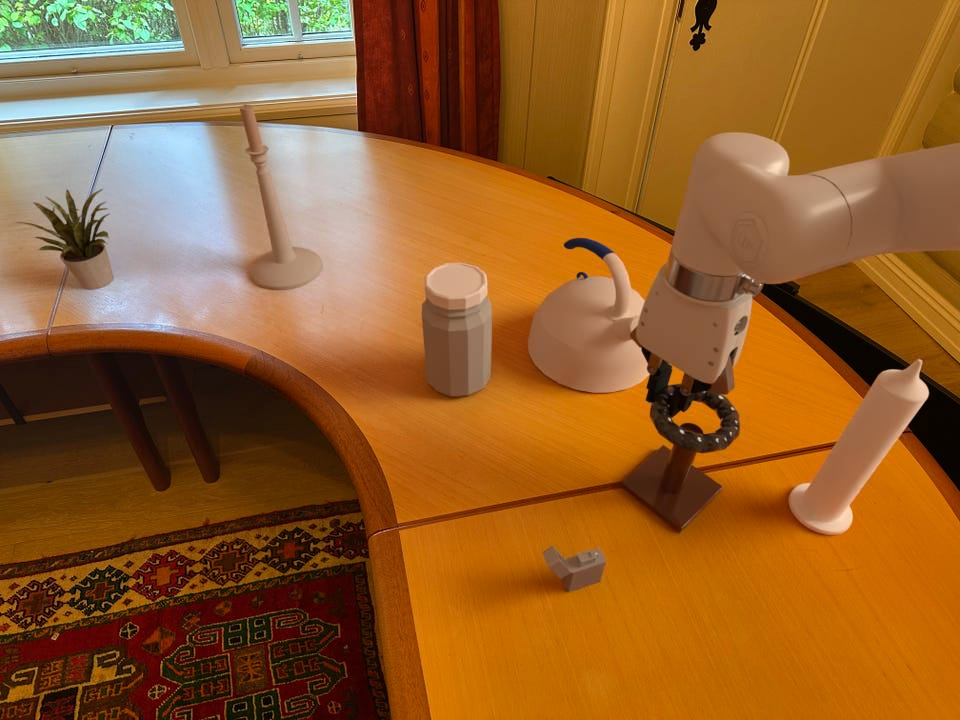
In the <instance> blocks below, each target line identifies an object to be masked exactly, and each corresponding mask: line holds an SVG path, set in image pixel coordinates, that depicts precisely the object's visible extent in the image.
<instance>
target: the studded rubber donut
mask: <svg viewBox="0 0 960 720" xmlns="http://www.w3.org/2000/svg"><path fill="white" fill-rule="evenodd" d="M681 383H682V382H680V383H674V384H668V386H666V387H665V388H663V389H662V390H661V391H660V392H658V393H657V394H656V395H655V396H654V397H653V398H652V402H650V408H649V419H650V420H651V422H652V424H653V426H654V427H655V430H656V431H657V434H658V435H659V436H661V437H662V438H663V439H665V440H666V441H668V442H669V443H670V444H672V445H673V444H674V445H675V446H677V447H678V448H681V449H685V450H689V451H693V452H697V454H708V453H714V452H720V451H724V450H726V449H727V448H729V447H730V446H731V445H732V444H733V443H734V442H735V440H737V439H738V438H739V436H740V434H741V415H740V413H739V412H738V410H737V409H736V408H735V406H734V405H733V403H732V402H731V401H730V399H729V398H728V397H727V396H726V395H724V394H720V393H715V392H712V391H709V390H708V391H705V392H699V393H695V395H694V398H693V401H692V402H695V403H701V404H703V405H704V406H706V407H708V408H709V409H711V410H713V411H714V413H715V414H716V416H717V417H718V419H719V421H720V422H719V427H718V428H717V429H716V430H715V431H714V432H713V431H712V432H708V433H704V434H698V433H694V432H690V431H686V430H685V429H683V428H682V427H680V425H679V424H678V423H676V422H675V421H674V420H673V418H671V416H670V415H669V405H670V402H671V399H672V396H673V393H674V391H675V390H676V389H677V388H678V387H680V385H681Z"/></svg>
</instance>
